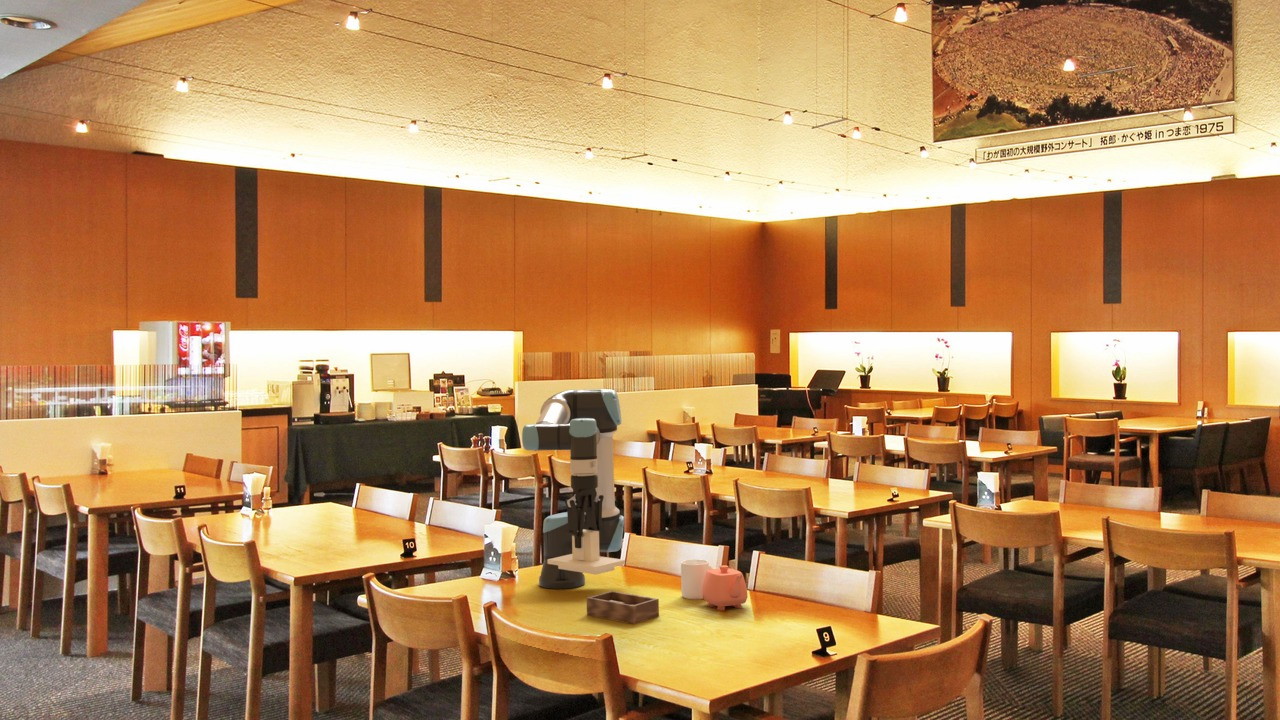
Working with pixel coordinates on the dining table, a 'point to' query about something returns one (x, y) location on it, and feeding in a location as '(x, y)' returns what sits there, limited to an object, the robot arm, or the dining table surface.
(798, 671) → the dining table surface
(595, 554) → the lid
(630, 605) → the bento box
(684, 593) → the mug
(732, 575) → the teapot
